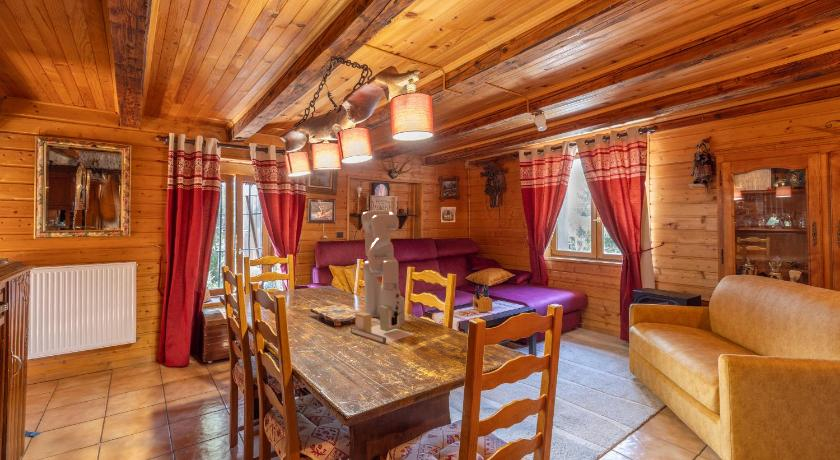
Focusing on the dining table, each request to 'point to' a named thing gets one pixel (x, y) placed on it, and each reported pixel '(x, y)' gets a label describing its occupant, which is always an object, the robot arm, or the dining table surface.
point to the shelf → (381, 334)
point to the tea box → (388, 319)
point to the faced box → (363, 321)
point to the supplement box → (402, 310)
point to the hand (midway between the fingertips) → (390, 323)
